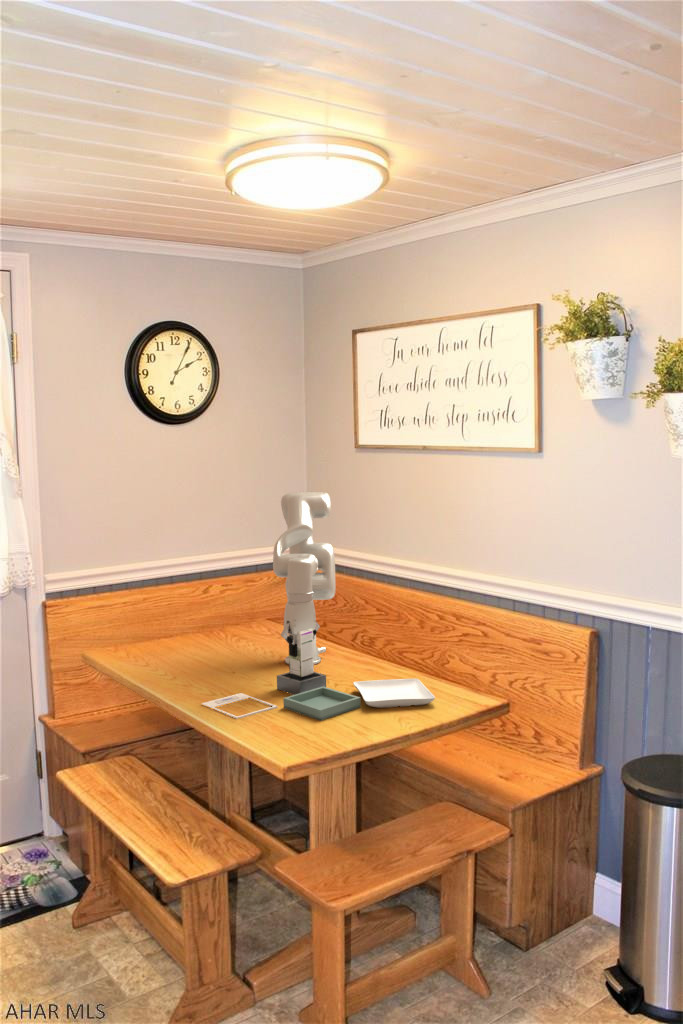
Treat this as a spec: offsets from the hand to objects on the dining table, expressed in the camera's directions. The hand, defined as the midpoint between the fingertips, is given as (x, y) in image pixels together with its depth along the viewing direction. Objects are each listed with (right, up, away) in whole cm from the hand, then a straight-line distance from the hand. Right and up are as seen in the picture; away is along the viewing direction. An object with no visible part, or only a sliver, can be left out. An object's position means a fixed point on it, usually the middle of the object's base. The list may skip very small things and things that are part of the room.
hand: (301, 653), depth 269 cm
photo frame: (-18, -14, -15) cm, 27 cm away
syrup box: (0, -7, +1) cm, 7 cm away
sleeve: (0, -11, +1) cm, 11 cm away
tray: (+7, -13, -18) cm, 23 cm away
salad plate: (+28, -13, -10) cm, 32 cm away
